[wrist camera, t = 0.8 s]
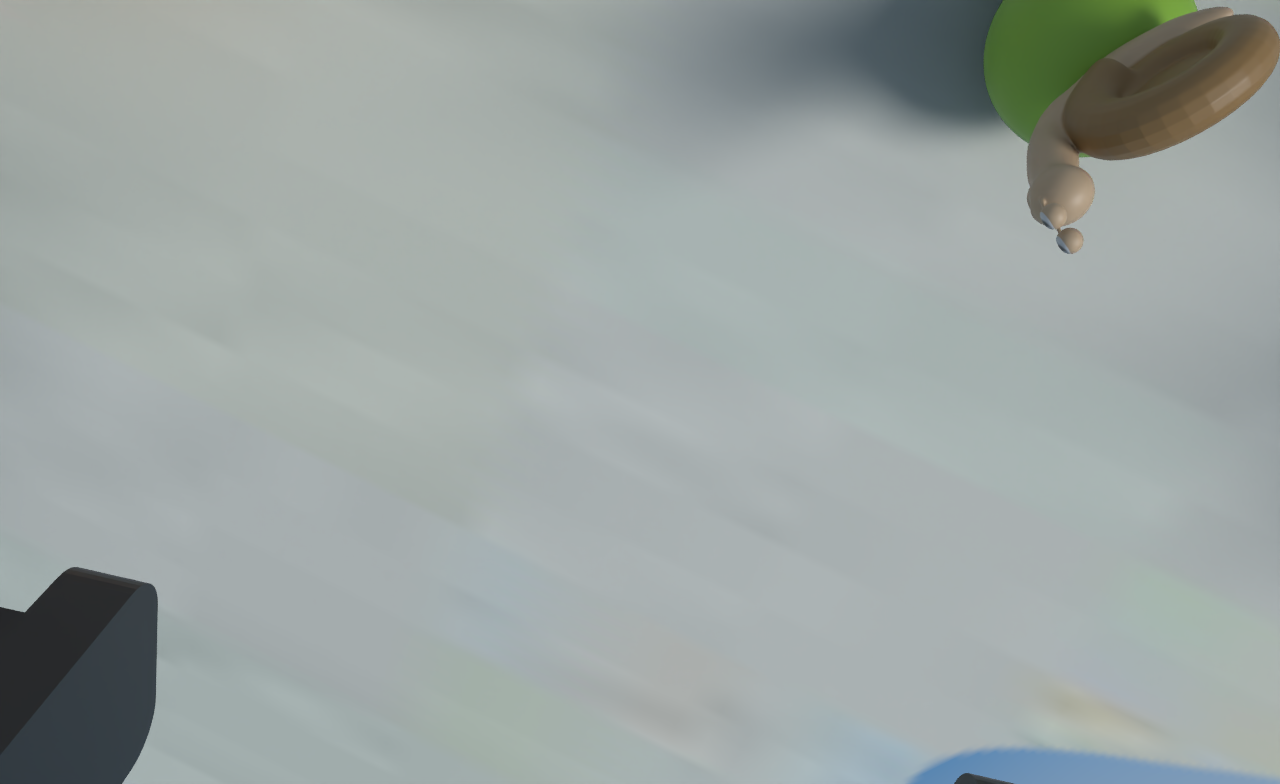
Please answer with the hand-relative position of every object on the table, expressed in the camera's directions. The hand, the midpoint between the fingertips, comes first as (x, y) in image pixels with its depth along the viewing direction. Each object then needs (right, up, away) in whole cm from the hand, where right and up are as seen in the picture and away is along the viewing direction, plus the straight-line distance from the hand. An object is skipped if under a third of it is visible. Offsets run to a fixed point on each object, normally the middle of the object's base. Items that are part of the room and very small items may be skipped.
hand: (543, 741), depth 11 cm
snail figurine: (+13, +14, +22) cm, 29 cm away
